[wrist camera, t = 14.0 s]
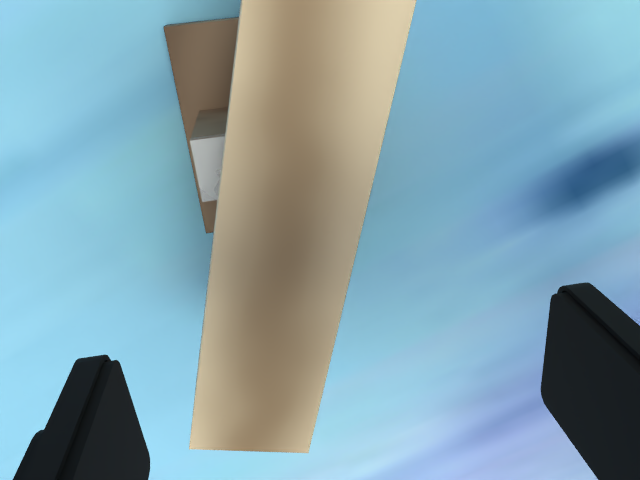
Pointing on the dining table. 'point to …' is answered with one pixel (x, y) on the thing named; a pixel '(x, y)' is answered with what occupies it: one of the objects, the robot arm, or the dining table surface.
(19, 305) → the dining table surface
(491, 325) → the dining table surface
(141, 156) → the dining table surface
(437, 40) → the dining table surface
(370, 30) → the oak batten
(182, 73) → the stand
